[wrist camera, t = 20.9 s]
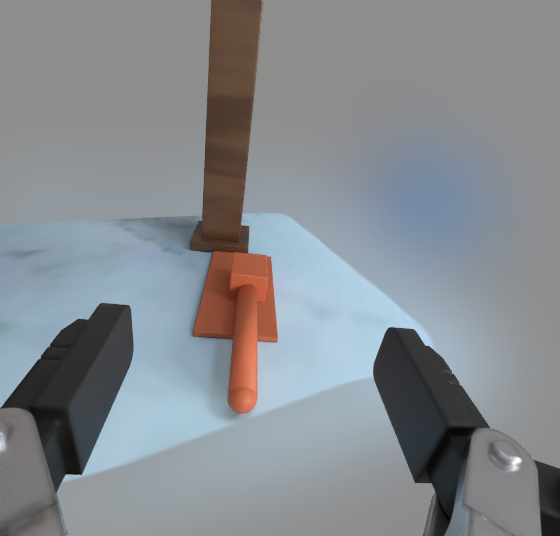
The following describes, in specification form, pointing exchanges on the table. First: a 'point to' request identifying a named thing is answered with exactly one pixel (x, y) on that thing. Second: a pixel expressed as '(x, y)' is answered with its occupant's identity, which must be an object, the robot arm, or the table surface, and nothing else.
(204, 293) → the terracotta mat
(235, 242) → the wooden square pillar
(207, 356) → the table surface
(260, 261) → the orange toy mallet
